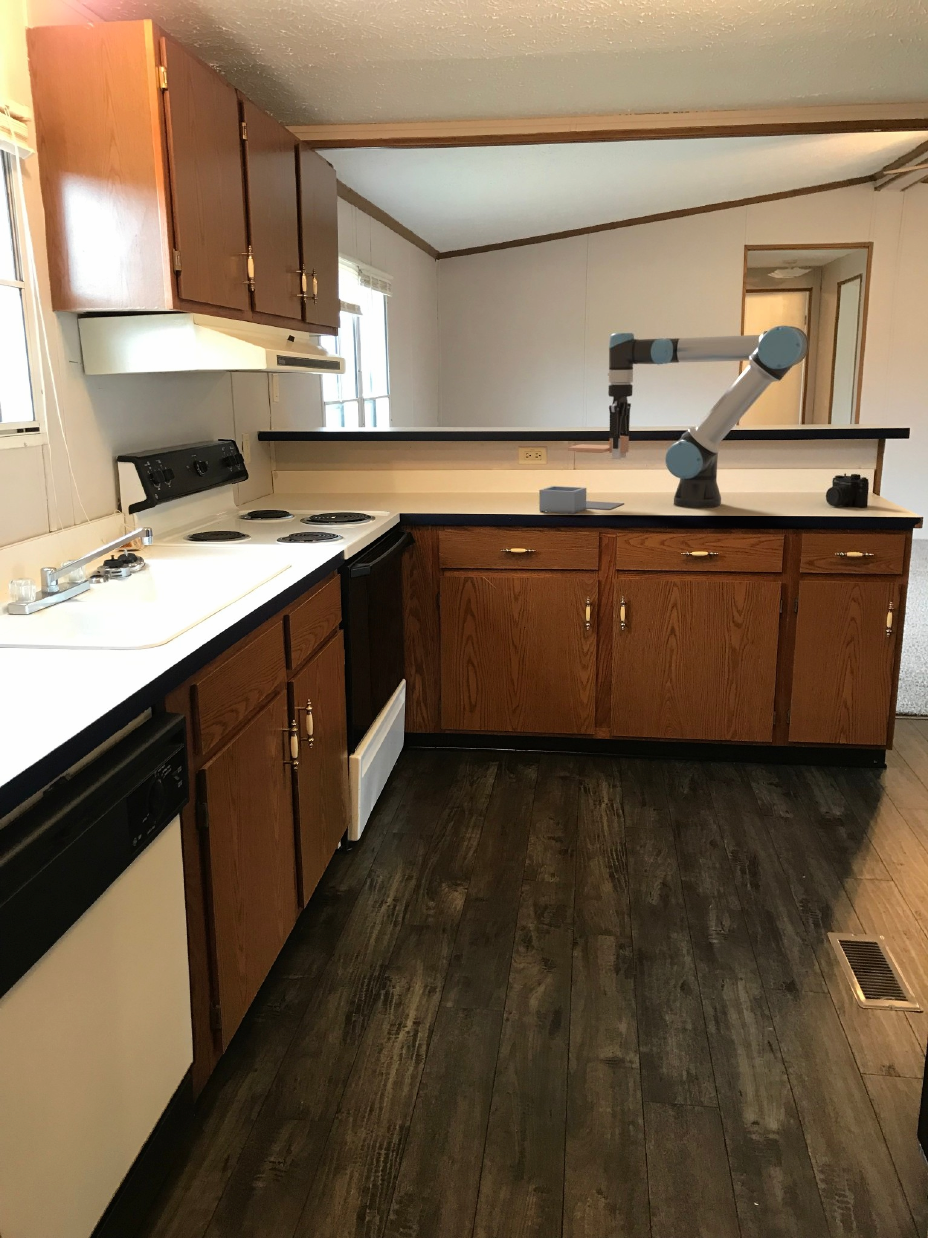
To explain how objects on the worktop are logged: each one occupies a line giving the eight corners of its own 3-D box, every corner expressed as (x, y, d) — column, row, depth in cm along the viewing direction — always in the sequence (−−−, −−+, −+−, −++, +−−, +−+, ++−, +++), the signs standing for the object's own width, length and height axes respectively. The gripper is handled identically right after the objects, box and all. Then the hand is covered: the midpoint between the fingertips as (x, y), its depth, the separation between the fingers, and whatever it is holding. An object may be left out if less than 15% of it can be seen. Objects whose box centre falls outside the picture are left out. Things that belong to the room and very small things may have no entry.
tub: (586, 509, 321) (586, 487, 319) (574, 513, 312) (574, 491, 310) (552, 507, 326) (552, 485, 324) (539, 511, 318) (539, 489, 316)
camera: (813, 504, 321) (815, 473, 318) (840, 501, 324) (842, 471, 322) (843, 510, 308) (845, 477, 306) (870, 507, 312) (873, 475, 309)
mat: (624, 504, 329) (624, 503, 329) (609, 509, 318) (609, 508, 318) (576, 501, 337) (576, 500, 337) (561, 506, 326) (561, 505, 326)
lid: (632, 450, 322) (632, 434, 321) (620, 454, 313) (620, 437, 312) (580, 449, 331) (581, 433, 329) (567, 452, 322) (567, 436, 320)
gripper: (619, 382, 322) (617, 454, 328) (599, 384, 308) (598, 460, 314) (641, 382, 318) (639, 455, 325) (622, 384, 304) (620, 461, 310)
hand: (618, 457), depth 319 cm, fingers closed on lid, 4 cm apart
